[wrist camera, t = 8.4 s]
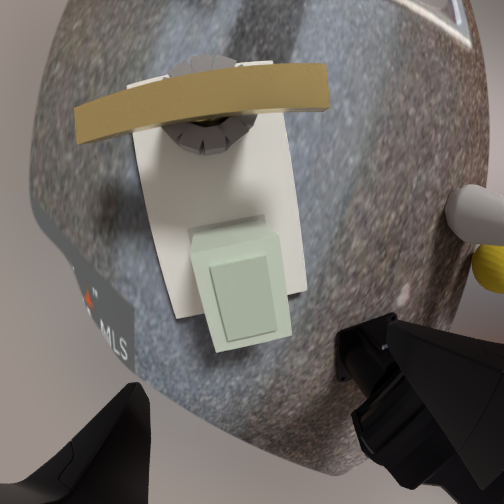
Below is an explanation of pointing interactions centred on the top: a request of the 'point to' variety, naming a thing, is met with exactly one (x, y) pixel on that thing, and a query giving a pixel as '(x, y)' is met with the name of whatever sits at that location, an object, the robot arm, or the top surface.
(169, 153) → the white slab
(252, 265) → the pale green block
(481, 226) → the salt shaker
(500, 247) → the lemon
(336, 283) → the top surface
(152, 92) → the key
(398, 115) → the top surface
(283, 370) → the top surface
